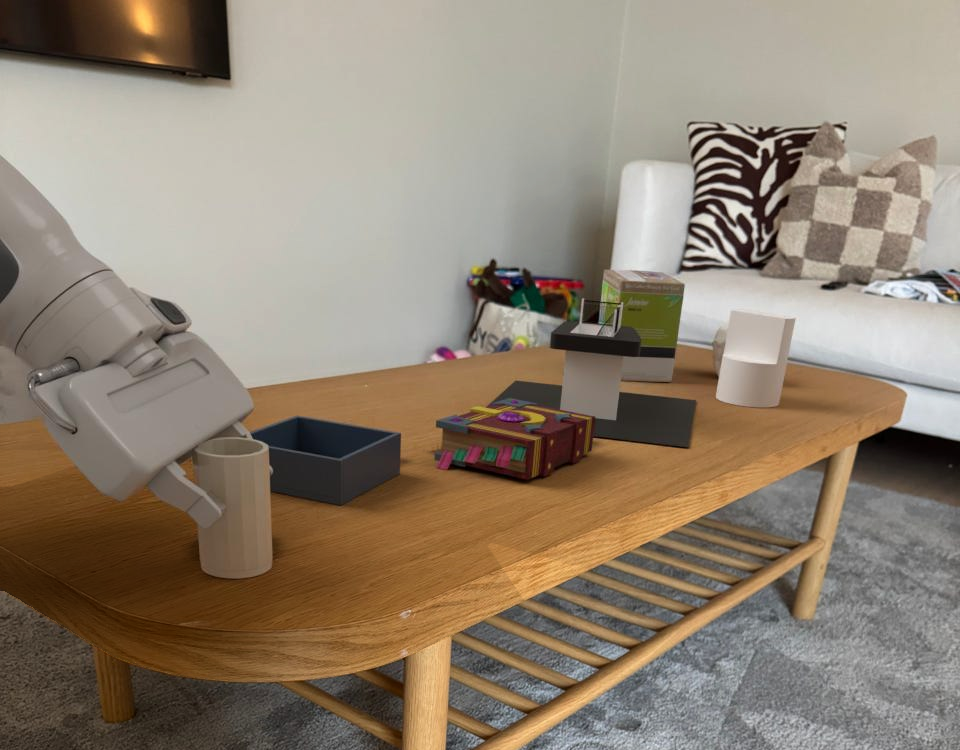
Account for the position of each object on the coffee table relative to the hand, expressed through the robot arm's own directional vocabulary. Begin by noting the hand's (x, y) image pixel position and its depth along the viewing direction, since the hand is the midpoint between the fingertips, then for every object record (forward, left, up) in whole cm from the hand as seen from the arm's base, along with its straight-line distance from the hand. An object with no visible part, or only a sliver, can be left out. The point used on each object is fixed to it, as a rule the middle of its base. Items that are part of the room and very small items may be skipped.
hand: (242, 499), depth 69 cm
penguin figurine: (+79, +73, -5) cm, 108 cm away
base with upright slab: (+72, +58, -5) cm, 93 cm away
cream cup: (-1, 0, -5) cm, 5 cm away
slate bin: (+7, +22, -5) cm, 23 cm away
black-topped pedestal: (+45, +51, -5) cm, 68 cm away
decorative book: (+28, +28, -5) cm, 40 cm away
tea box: (+62, +77, -5) cm, 99 cm away
